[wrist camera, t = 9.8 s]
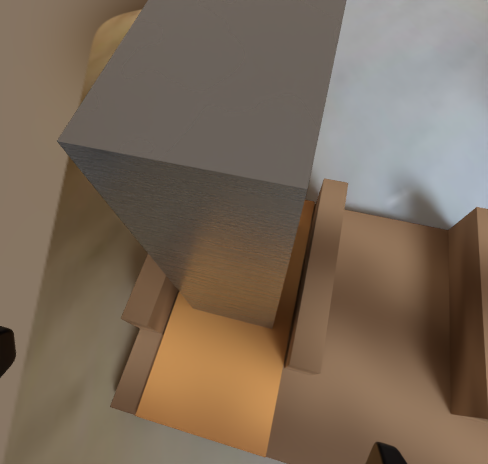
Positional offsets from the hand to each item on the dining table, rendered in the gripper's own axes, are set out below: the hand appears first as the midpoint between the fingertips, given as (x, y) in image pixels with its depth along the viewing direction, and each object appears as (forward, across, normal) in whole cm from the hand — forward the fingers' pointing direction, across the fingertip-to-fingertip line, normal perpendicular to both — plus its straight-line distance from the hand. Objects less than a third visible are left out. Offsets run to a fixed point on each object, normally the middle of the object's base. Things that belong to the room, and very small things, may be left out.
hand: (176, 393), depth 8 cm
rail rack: (+9, -7, +3) cm, 12 cm away
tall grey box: (+10, 0, +1) cm, 10 cm away
